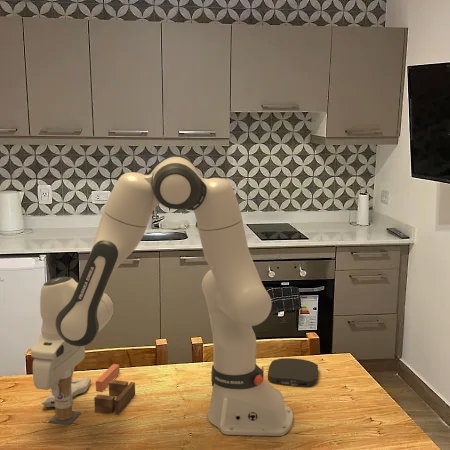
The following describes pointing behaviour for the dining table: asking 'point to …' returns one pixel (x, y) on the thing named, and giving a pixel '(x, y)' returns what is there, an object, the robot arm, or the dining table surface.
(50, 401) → the gun
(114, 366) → the salmon red bar
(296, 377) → the media streaming box
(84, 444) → the dining table surface
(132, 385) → the brown u-shaped channel
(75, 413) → the pad
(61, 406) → the sprinkles bottle
